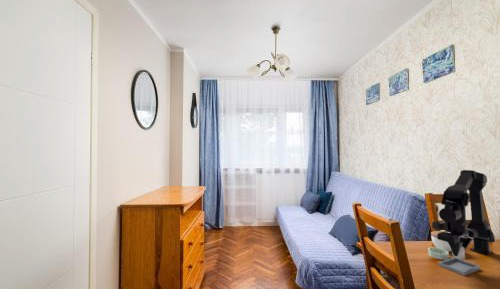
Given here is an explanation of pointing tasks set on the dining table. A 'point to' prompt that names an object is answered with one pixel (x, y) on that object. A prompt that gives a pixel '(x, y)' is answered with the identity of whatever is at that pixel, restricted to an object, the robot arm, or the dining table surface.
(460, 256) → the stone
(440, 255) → the bowl
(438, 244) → the lidded jar
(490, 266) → the dining table surface
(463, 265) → the parts tray
